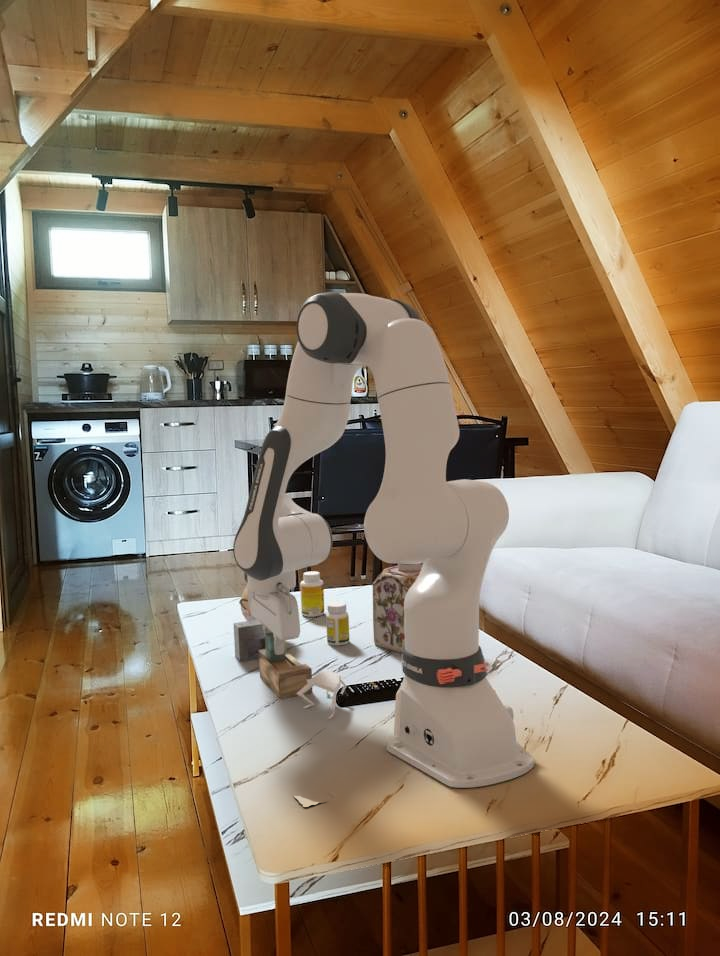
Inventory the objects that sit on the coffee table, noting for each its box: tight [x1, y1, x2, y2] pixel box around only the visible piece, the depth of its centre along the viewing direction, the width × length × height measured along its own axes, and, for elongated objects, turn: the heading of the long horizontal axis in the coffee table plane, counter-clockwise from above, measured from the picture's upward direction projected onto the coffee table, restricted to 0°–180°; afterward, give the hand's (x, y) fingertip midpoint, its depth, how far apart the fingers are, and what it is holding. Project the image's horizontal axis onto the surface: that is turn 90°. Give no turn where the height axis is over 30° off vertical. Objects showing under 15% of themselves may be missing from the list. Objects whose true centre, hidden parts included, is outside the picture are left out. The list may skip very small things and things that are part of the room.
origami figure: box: [296, 668, 347, 720], centre depth 131 cm, size 12×8×5 cm
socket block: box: [233, 620, 266, 662], centre depth 159 cm, size 4×8×7 cm, turn 114°
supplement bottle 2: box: [325, 601, 350, 646], centre depth 166 cm, size 5×5×8 cm
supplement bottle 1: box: [299, 570, 325, 618], centre depth 188 cm, size 6×6×10 cm
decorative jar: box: [372, 563, 423, 654], centre depth 162 cm, size 12×12×18 cm
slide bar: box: [258, 632, 293, 669], centre depth 145 cm, size 16×3×7 cm, turn 24°
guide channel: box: [258, 653, 313, 700], centre depth 142 cm, size 12×6×4 cm, turn 24°
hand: (275, 650), depth 147 cm, fingers closed on slide bar, 3 cm apart
